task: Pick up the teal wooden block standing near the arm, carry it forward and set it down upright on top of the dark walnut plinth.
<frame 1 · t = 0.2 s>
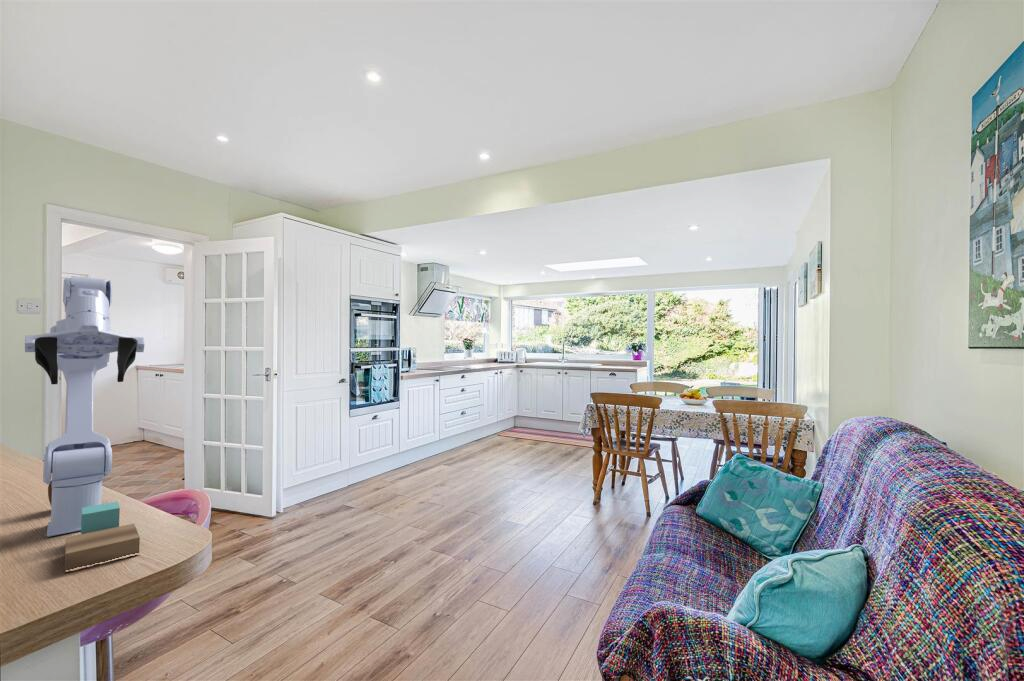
hand: (88, 378, 70), 31 cm above the counter, tool tilted 45°, fingers open, 7 cm apart
teal block: (99, 540, 82), on the counter
wooden figurine: (69, 509, 99), on the counter
walnut plinth: (102, 555, 76), on the counter
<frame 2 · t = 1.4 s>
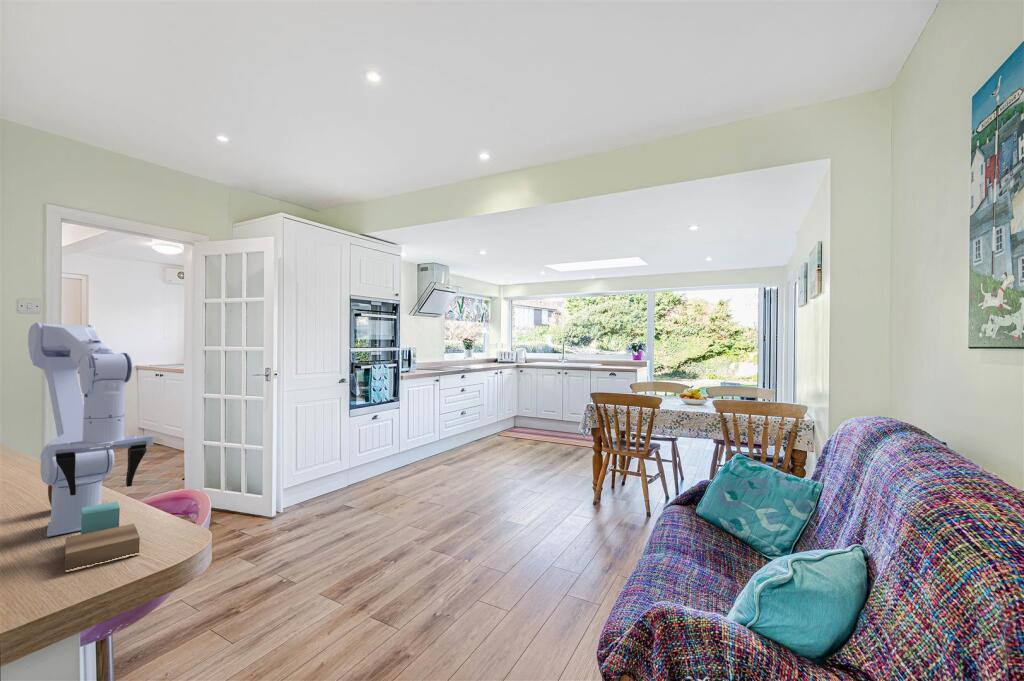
hand: (101, 489, 82), 9 cm above the counter, tool pointing down, fingers open, 7 cm apart
nothing on the counter moved.
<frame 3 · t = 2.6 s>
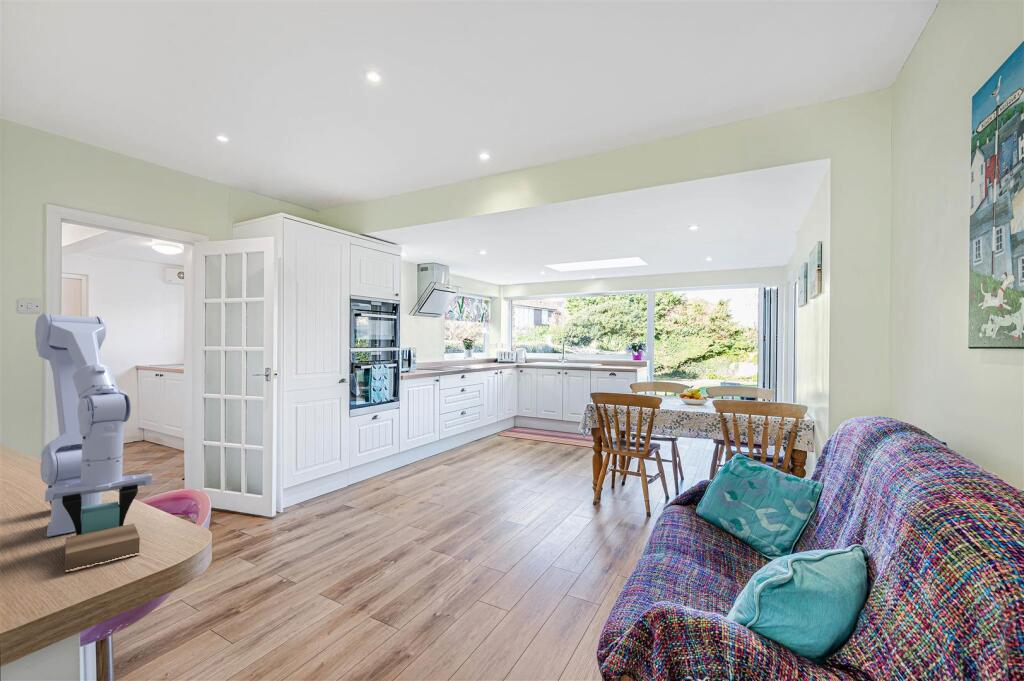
hand: (99, 531, 82), 2 cm above the counter, tool pointing down, fingers closed on teal block, 5 cm apart
teal block: (99, 539, 82), on the counter, touching gripper
everything else where it was.
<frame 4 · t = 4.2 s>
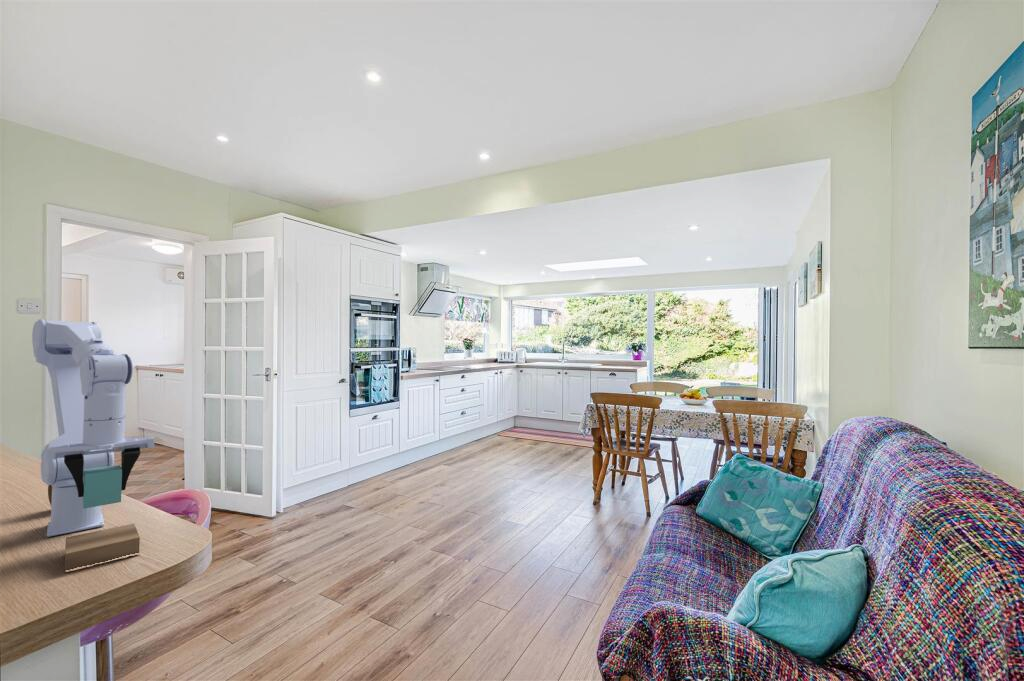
hand: (102, 492, 81), 9 cm above the counter, tool pointing down, fingers closed on teal block, 5 cm apart
teal block: (101, 502, 81), point 7 cm above the counter, touching gripper
everything else where it was.
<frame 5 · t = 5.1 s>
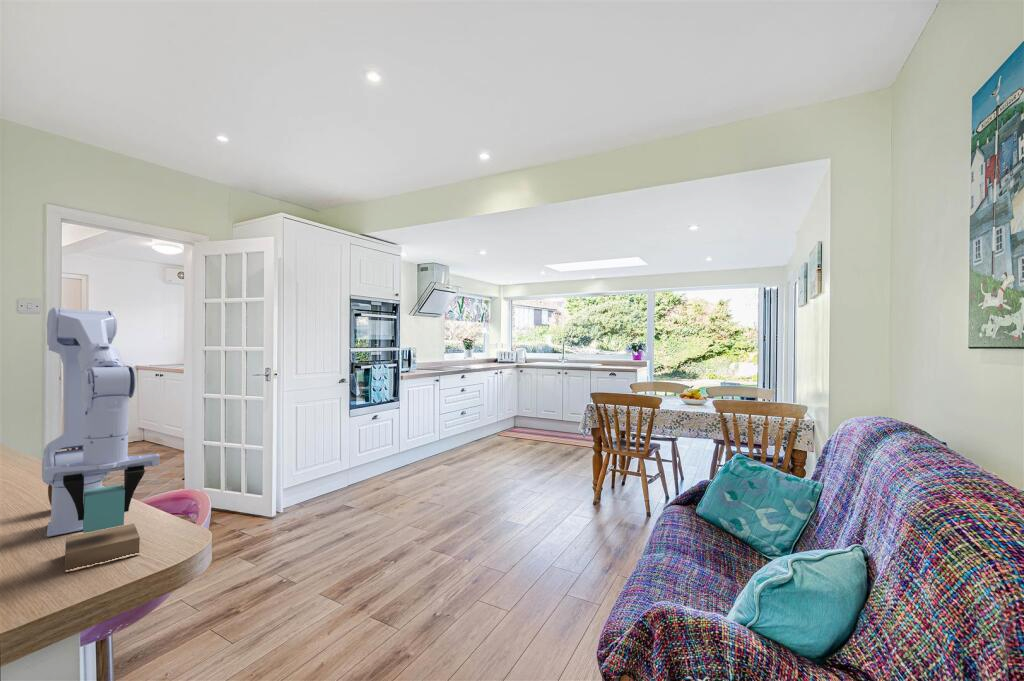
hand: (103, 514, 76), 7 cm above the counter, tool pointing down, fingers closed on teal block, 5 cm apart
teal block: (103, 525, 76), point 5 cm above the counter, touching gripper
everything else where it was.
when the fingers open (6 cm above the counter, at t = 5.7 s): teal block drops 1 cm, resting on walnut plinth.
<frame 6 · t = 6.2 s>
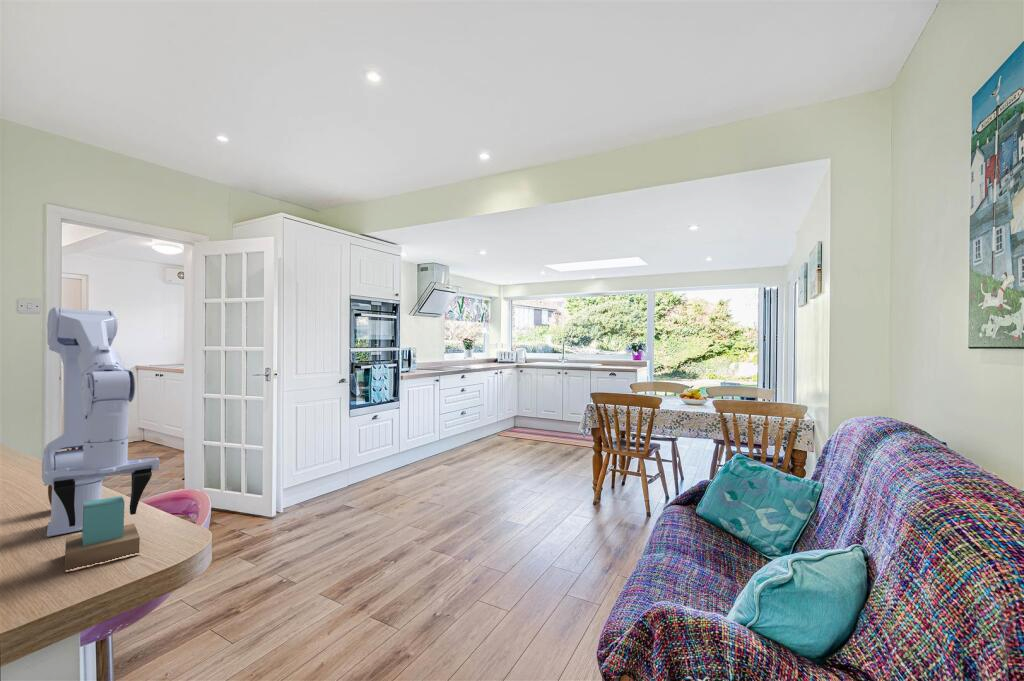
hand: (103, 518, 76), 6 cm above the counter, tool pointing down, fingers open, 7 cm apart
teal block: (102, 537, 76), point 3 cm above the counter, touching walnut plinth
everything else where it was.
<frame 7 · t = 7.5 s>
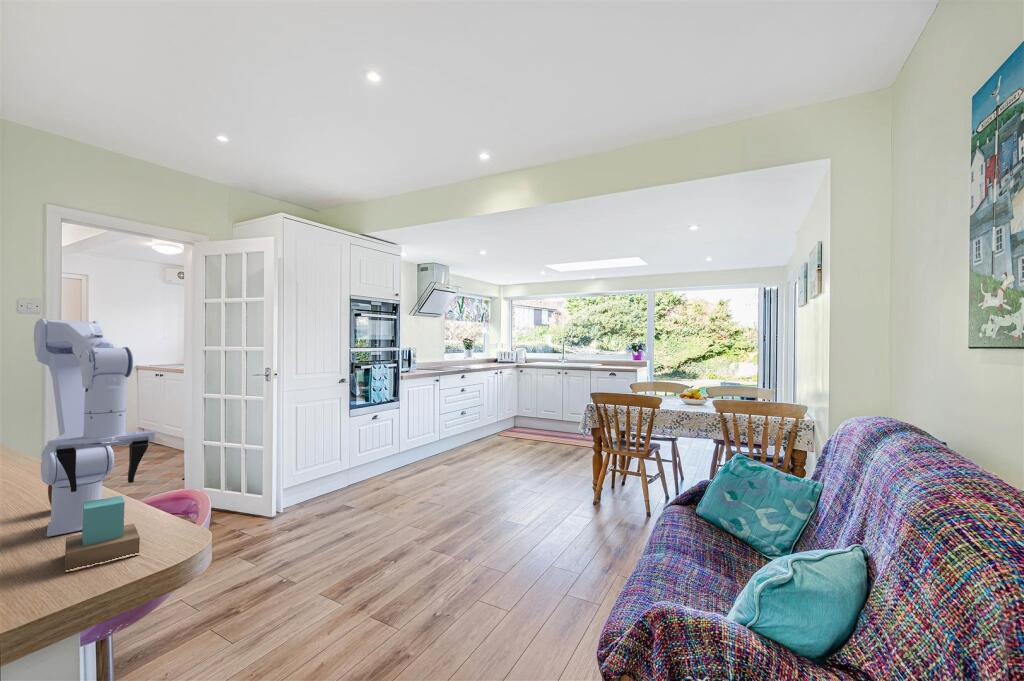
hand: (103, 486, 81), 10 cm above the counter, tool pointing down, fingers open, 7 cm apart
nothing on the counter moved.
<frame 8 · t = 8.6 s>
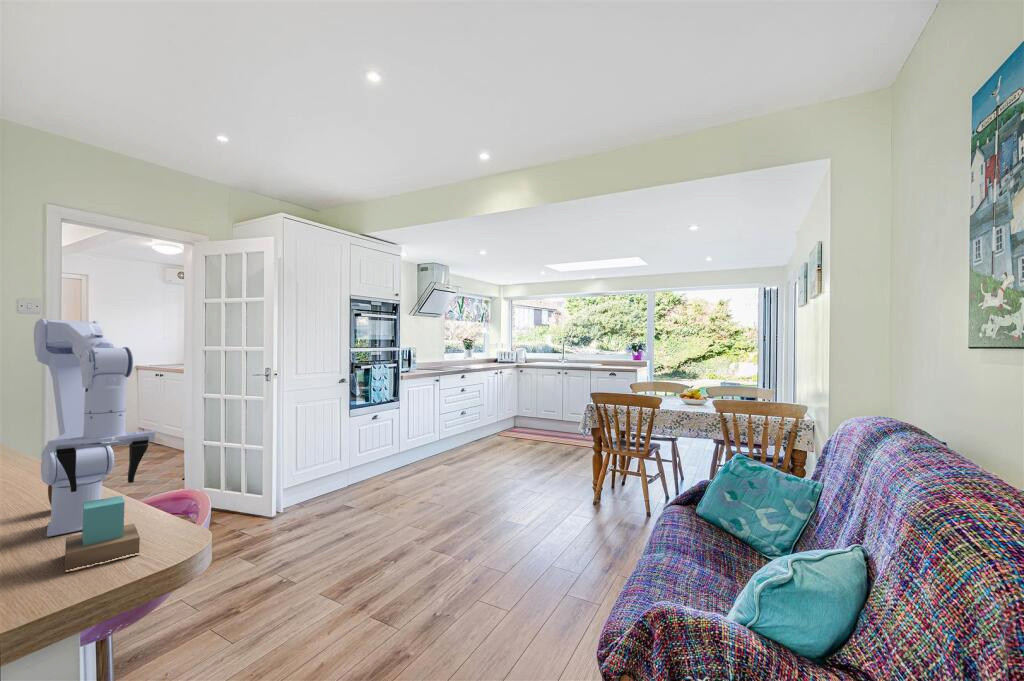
hand: (103, 486, 81), 10 cm above the counter, tool pointing down, fingers open, 7 cm apart
nothing on the counter moved.
at the end: teal block 0.2 cm off-centre on the walnut plinth, point 3.0 cm above the walnut plinth's base; teal block tilted 0°; the gripper is holding nothing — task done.
